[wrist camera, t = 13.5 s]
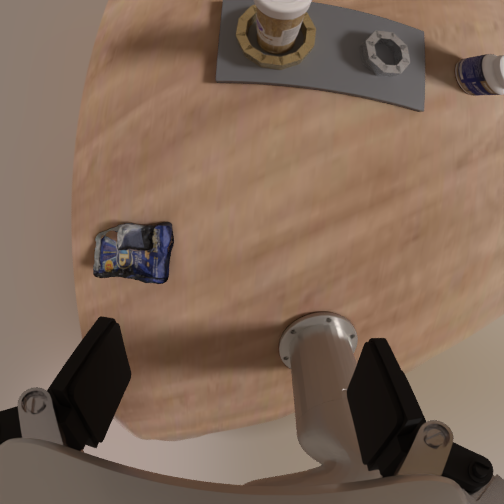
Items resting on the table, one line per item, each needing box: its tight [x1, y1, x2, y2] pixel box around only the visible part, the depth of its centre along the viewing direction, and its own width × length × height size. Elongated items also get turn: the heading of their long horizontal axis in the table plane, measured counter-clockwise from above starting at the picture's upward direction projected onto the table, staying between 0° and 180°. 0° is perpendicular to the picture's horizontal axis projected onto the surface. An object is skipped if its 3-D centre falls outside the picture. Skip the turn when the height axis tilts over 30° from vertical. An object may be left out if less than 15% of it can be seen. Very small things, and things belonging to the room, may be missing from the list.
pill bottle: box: [455, 54, 504, 95], centre depth 23 cm, size 6×6×10 cm
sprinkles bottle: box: [254, 0, 312, 54], centre depth 21 cm, size 5×5×14 cm
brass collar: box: [236, 5, 316, 70], centre depth 26 cm, size 8×8×2 cm
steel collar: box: [359, 31, 410, 77], centre depth 26 cm, size 6×6×2 cm
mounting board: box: [216, 0, 425, 112], centre depth 28 cm, size 26×12×2 cm, turn 86°
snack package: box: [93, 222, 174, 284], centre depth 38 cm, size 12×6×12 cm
